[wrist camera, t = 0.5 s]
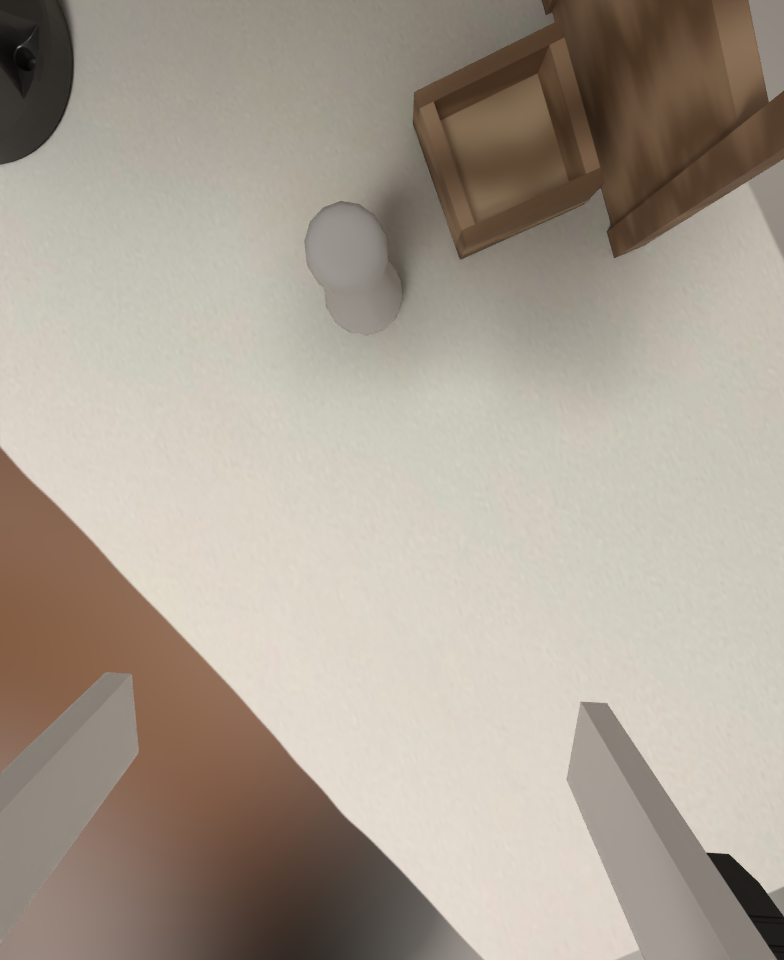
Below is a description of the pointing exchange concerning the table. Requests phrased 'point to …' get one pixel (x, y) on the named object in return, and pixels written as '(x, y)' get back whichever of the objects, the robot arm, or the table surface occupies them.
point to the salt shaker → (353, 267)
